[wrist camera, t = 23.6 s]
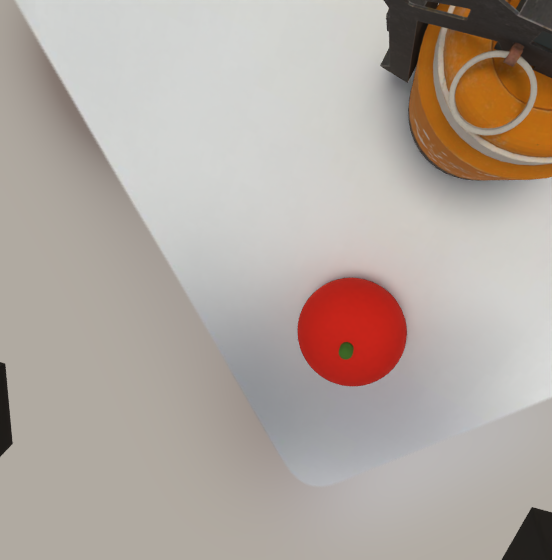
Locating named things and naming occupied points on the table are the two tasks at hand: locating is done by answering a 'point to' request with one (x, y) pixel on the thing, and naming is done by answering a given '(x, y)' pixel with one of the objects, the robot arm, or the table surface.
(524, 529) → the robot arm
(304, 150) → the table surface
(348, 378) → the tomato
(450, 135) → the canister
